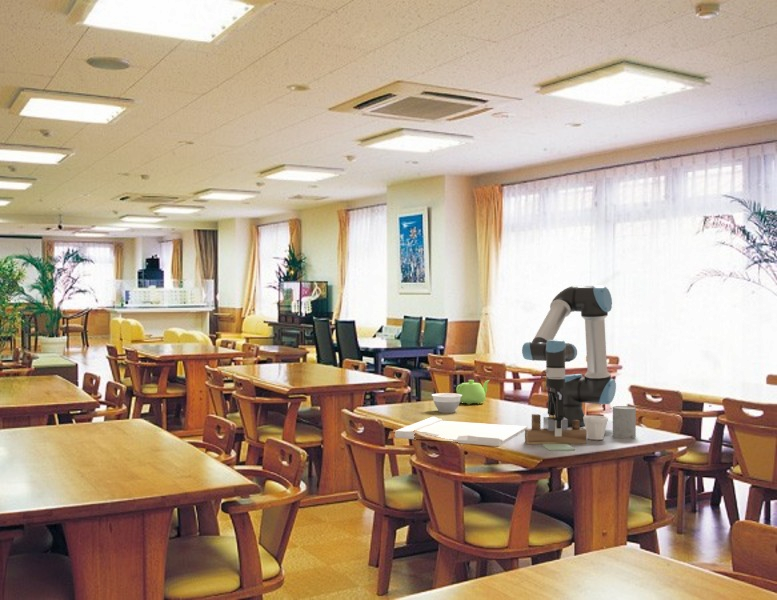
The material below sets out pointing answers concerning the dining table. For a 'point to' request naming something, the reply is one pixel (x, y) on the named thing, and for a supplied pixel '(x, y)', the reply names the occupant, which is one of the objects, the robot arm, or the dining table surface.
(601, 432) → the cup
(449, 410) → the bowl
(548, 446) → the mat
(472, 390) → the teapot
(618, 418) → the grey cylindrical container
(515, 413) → the dining table surface
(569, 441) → the body
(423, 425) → the white flat slab
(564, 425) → the lever cap
